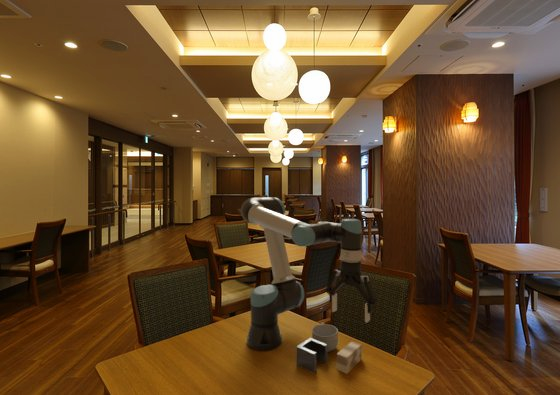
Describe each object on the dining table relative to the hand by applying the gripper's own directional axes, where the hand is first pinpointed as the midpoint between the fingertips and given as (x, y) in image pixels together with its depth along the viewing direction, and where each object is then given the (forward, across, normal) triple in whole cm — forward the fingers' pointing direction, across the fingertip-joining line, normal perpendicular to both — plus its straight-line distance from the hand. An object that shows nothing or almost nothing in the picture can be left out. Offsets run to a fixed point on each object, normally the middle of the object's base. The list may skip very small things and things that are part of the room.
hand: (350, 315), depth 112 cm
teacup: (+19, -14, +5) cm, 24 cm away
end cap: (+18, -11, -9) cm, 23 cm away
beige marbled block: (+19, 0, 0) cm, 19 cm away
